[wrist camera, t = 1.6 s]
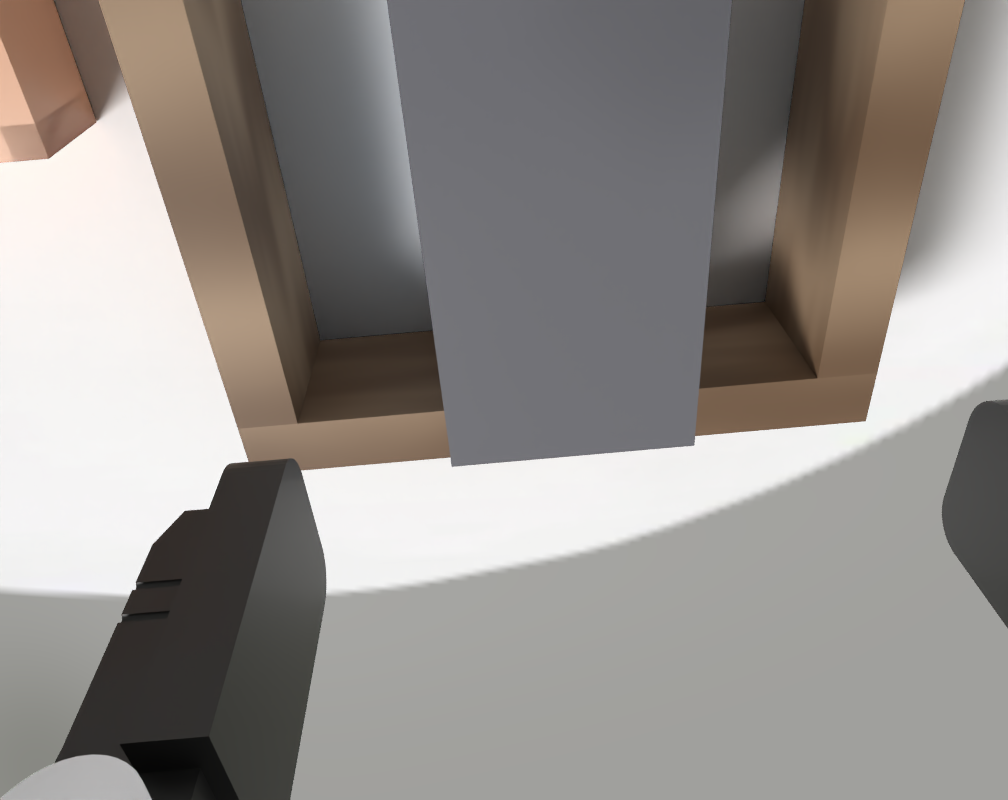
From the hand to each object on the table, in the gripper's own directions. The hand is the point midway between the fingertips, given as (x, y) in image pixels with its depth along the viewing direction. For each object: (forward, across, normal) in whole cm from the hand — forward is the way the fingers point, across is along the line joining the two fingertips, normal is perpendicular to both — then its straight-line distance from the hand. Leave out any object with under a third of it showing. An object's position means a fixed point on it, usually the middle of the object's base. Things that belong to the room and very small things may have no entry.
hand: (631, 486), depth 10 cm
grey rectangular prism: (+15, 0, 0) cm, 15 cm away
